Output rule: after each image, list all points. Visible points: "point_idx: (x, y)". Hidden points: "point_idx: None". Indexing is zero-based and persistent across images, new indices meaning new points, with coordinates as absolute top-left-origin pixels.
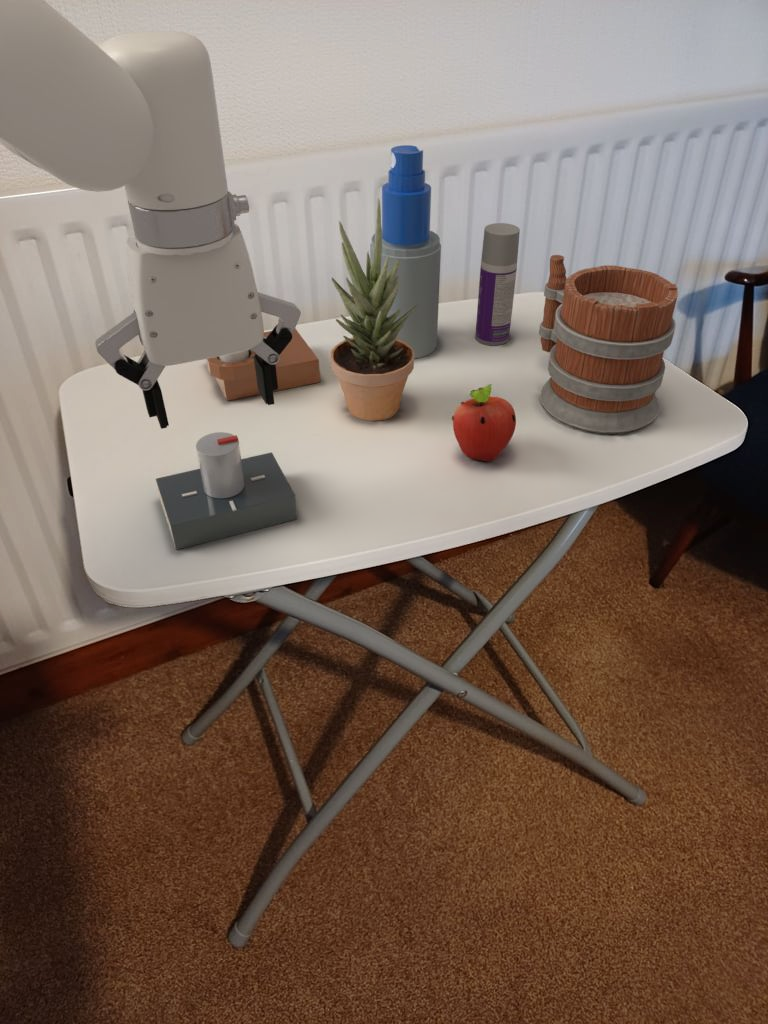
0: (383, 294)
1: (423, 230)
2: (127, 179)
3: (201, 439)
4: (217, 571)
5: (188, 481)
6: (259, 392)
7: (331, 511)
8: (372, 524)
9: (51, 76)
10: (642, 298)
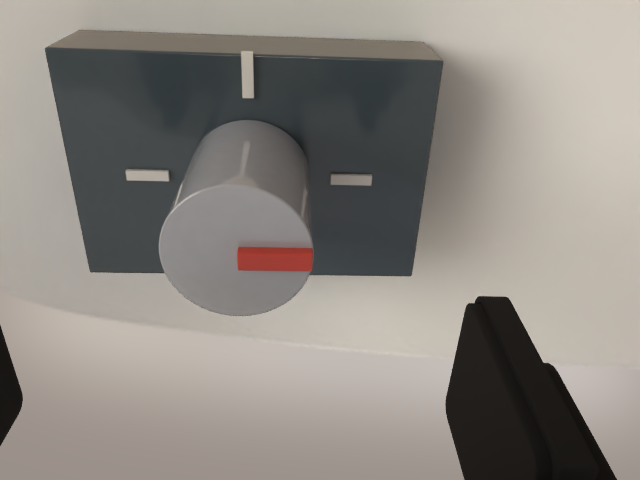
0: None
1: None
2: None
3: (184, 209)
4: (192, 315)
5: (151, 108)
6: (464, 317)
7: (480, 240)
8: (530, 305)
9: None
10: None
